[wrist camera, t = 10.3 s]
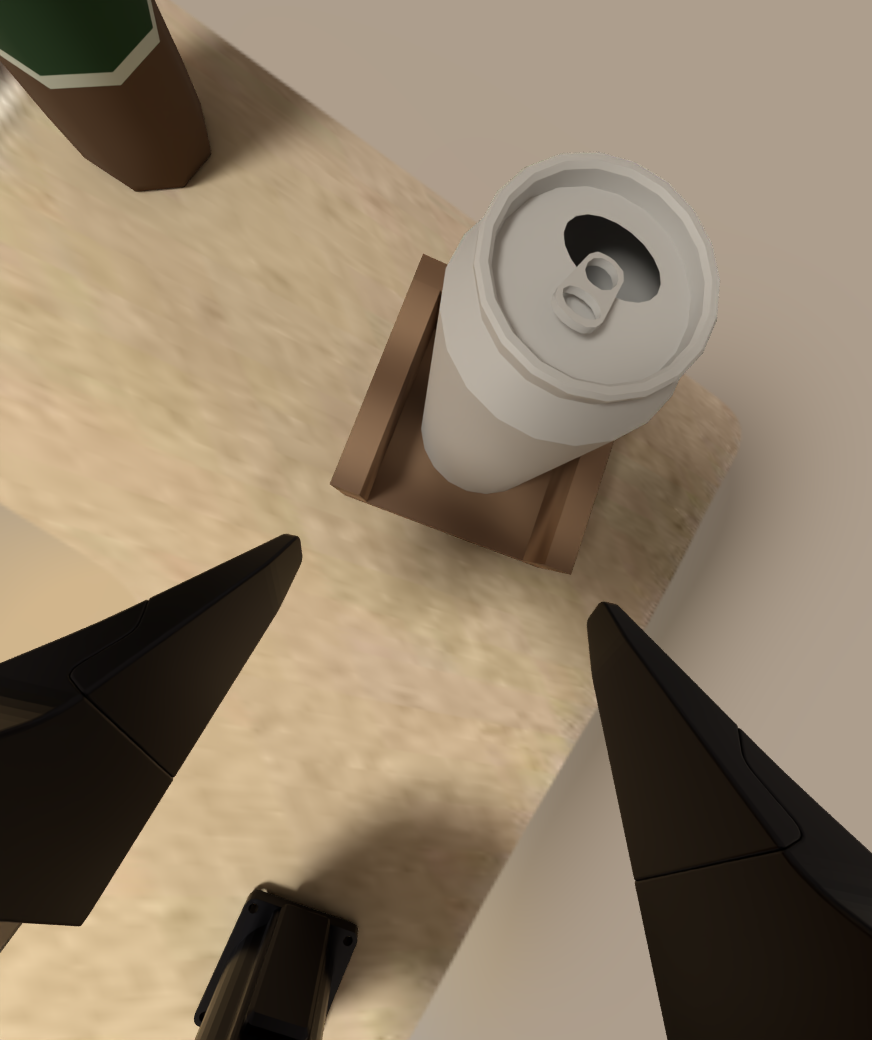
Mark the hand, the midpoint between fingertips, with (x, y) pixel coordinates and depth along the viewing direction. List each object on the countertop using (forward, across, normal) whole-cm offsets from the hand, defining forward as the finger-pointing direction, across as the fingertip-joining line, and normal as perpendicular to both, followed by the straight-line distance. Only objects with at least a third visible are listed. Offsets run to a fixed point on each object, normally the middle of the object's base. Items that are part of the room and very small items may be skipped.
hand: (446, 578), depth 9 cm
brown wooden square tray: (+13, -1, 0) cm, 13 cm away
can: (+12, -1, 0) cm, 12 cm away
